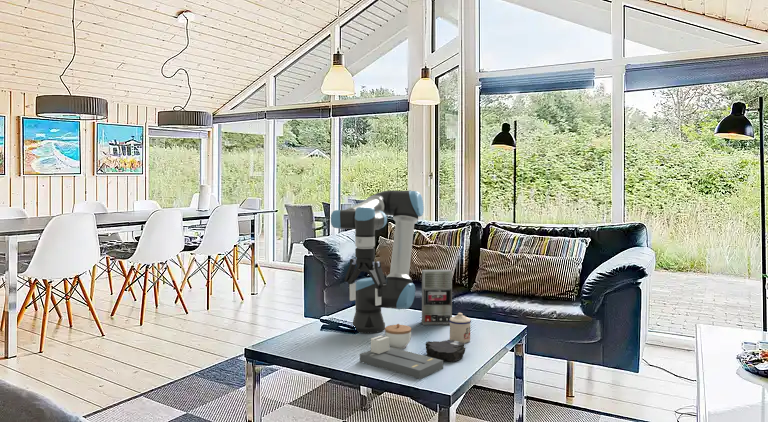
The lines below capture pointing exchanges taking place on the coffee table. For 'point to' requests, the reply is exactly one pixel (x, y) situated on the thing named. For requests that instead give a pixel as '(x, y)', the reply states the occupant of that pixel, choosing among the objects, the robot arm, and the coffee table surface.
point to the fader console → (403, 362)
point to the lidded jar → (398, 335)
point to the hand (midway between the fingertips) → (365, 302)
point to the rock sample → (445, 350)
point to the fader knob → (379, 344)
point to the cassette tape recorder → (436, 296)
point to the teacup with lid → (460, 328)
